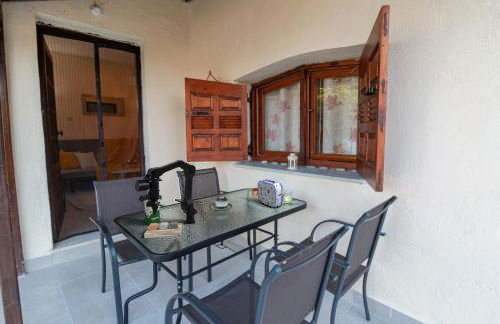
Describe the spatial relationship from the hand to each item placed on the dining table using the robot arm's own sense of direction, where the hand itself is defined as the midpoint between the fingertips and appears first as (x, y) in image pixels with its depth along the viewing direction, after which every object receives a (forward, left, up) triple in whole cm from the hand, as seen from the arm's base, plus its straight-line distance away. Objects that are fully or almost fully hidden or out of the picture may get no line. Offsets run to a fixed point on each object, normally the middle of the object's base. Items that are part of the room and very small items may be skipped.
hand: (154, 214), depth 150 cm
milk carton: (-18, -5, -12) cm, 22 cm away
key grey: (0, +5, -10) cm, 11 cm away
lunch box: (-45, +85, -12) cm, 97 cm away
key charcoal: (0, +11, -10) cm, 15 cm away
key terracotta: (0, -1, -10) cm, 10 cm away
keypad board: (0, +5, -12) cm, 13 cm away
